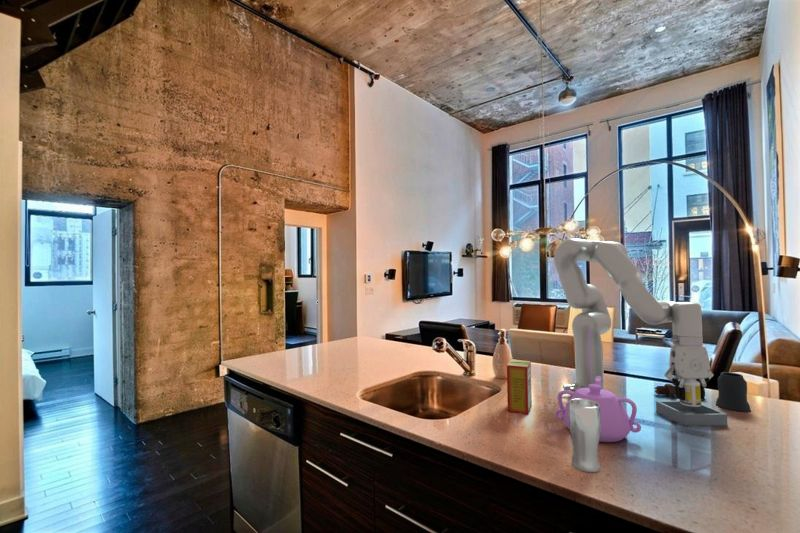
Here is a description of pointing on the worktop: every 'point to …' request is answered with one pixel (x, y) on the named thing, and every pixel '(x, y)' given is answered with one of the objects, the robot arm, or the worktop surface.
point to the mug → (732, 392)
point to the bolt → (667, 390)
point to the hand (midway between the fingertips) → (689, 398)
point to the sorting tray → (691, 414)
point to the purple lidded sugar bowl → (603, 411)
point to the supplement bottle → (691, 393)
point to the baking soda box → (519, 387)
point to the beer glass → (585, 433)
